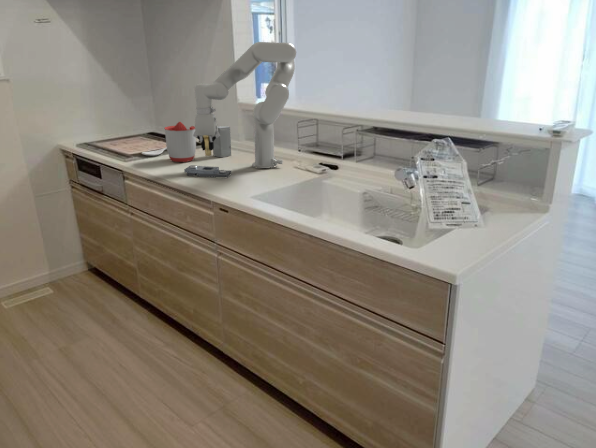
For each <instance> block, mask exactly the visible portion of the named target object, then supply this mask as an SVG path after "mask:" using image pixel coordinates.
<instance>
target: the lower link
mask: <svg viewBox="0 0 596 448" xmlns="http://www.w3.org/2000/svg"><path fill="white" fill-rule="evenodd" d="M230 174H231V175H232V170H226V169H219V170H218V171H217V172H216V173H215V174H201V173H197V175H196V177H199V178H216V177H227V178H228V177H230V176H231V175H230Z"/></svg>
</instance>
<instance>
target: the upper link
mask: <svg viewBox="0 0 596 448" xmlns="http://www.w3.org/2000/svg"><path fill="white" fill-rule="evenodd" d="M219 167H220V166H206V165H194V164H192V165H188V166H187V167H186V168H184V172H183V173H186V176H187V177H190V176H191V177H197V173H201V174H215V173H216V172H217V171H218V170H220V168H219Z"/></svg>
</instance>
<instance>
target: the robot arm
mask: <svg viewBox="0 0 596 448" xmlns="http://www.w3.org/2000/svg"><path fill="white" fill-rule="evenodd" d="M296 56H297V50H296V46H295V45H294V44H292V43H290V42H269V41H267V42H266V41H257V42H254V43H253V44H252V45H251V46H249V47H248V49H247V50H245V52H244V53H243V54H241V56H240V57H239V58H238V59H237V60H235V62H233V63H232V64H231V65H230V66H229V67H228V68H227V69H226V70H225V71H224V72H223V73H222V74H219V75H220V76H218V77H217V78H216V79H215V80H214V81H213V82H212V83H211V84H210V83H197V84H195V85H194V87H193V88H194V99H195V110H196V111H195V112H196V113H195V115H194V127H195V132H194V134H193V136H194V137H196V140H197V139H198V141H199V142H200V143H201V144H200V146H201V149H202V151H205V147H204V137H203V135H207V136H209V138H210V142H209V147H210V151H211V152H213V148H214V142H213V141H214V140H215V139H216V138H218V137H219V136H220V134H219V132H218V127H219V126H218V123H217V122H218V121H217V117H216V114H215V113H214V112H216V108H214V107H213V100H216V101H217V100H218V101H221V100H222V101H223V100H226V98H227V97H228V96H229V90H230V89H232V88H233V86H234V85H235V84H237V83H238V82H240V81H242V80H243V81H244V79H246V78H248V77H249V76H250V74H252V73H253V72H254V71H255V70H256V69H257V68H258V67H259V66H260V65H261V64H262V63H276V67H275V70H274V73H273V76H272V77H271V79H270V80H269V83H268V84H267V86H266V87H265V91H264V92H265V96H266V97H265V99H264V101H260V102H258V103H256V105H254V108H253V113H252V115H253V123H254V124H253V125H254V127H253V128H254V162H252V163H251V167H252V166H253V168H254V167H257V168H256V169H258V168H269V167H274V166H276V165H277V166H278V165H283V159H280V158H278V159H277V158H276V156H275V126H274V125H275V124H274V123H275V122H276V121H277V120H278V118H279V117H280V115H281V113H282V112H283V109H284V108H285V106H286V104H287V102H288V100H289V96H290V92H289V91H290V90H289V89H288V87H289V85H290V83H291V81H292V78H293V77H294V76H293V75H294V74H295V69H296V68H295V59H296ZM215 134H216V136H214V135H215Z"/></svg>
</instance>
